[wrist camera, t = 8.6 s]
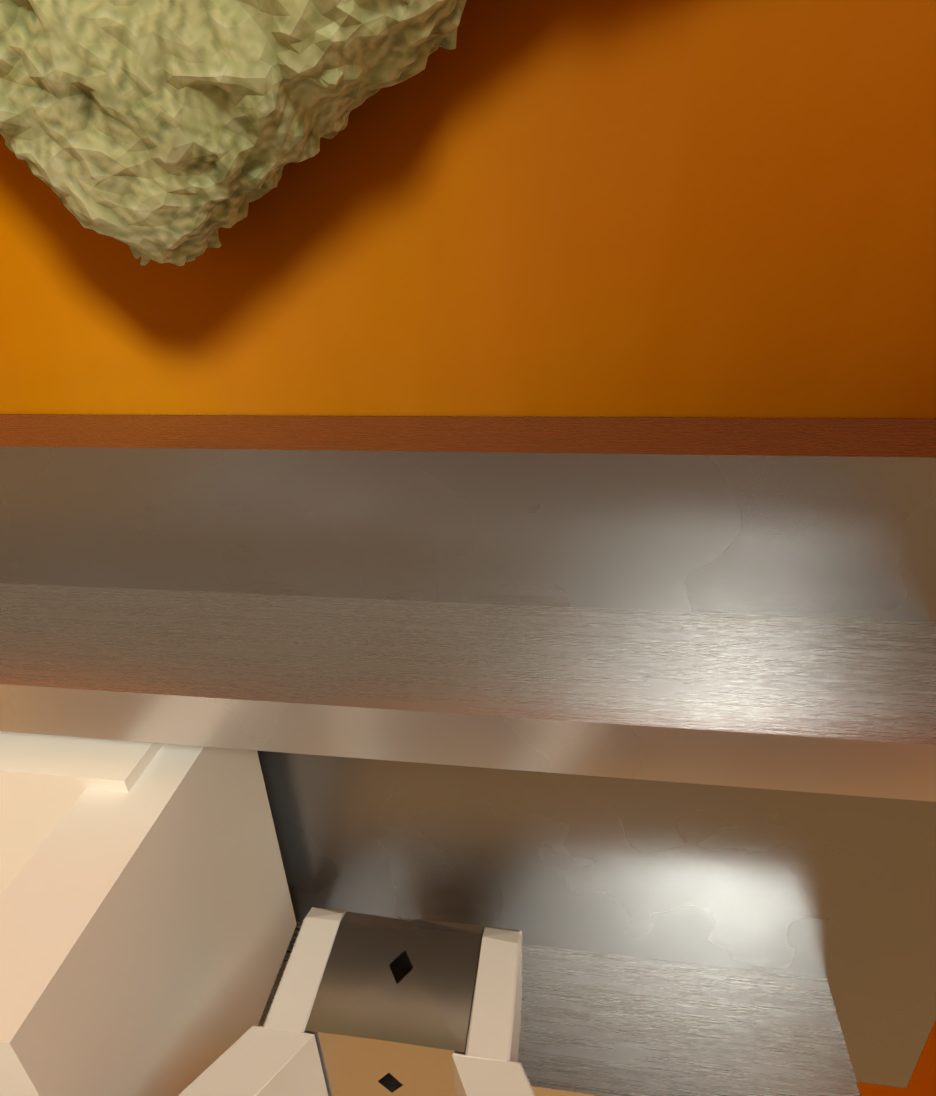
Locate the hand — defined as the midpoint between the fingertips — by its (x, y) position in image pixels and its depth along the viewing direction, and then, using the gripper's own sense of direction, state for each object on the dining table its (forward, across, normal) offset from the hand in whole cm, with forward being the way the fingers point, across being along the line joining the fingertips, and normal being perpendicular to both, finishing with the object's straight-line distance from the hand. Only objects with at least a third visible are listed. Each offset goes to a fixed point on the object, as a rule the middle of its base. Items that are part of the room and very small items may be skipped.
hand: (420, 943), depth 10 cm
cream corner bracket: (+2, +6, +2) cm, 7 cm away
